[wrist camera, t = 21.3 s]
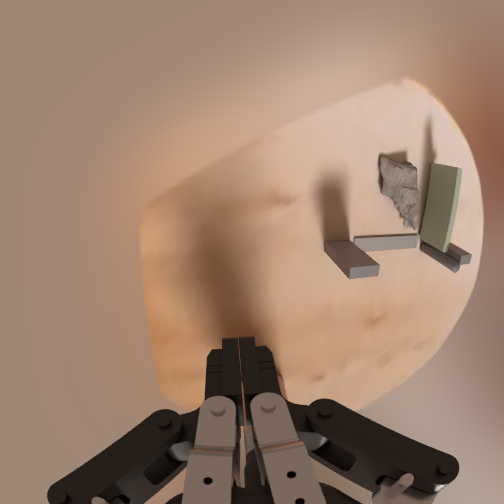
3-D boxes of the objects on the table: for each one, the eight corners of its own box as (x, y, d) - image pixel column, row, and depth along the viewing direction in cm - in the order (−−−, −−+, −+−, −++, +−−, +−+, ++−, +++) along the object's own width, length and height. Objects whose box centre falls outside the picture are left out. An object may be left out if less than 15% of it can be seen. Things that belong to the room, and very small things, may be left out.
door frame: (435, 250, 45) (467, 270, 36) (324, 259, 43) (347, 288, 34) (438, 233, 44) (472, 252, 35) (325, 239, 42) (350, 264, 33)
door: (419, 238, 43) (442, 252, 37) (431, 162, 38) (457, 167, 32) (428, 239, 44) (451, 252, 37) (440, 165, 39) (466, 170, 32)
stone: (378, 228, 43) (391, 236, 39) (375, 156, 38) (389, 158, 34) (407, 223, 43) (421, 230, 39) (406, 154, 38) (421, 157, 35)
